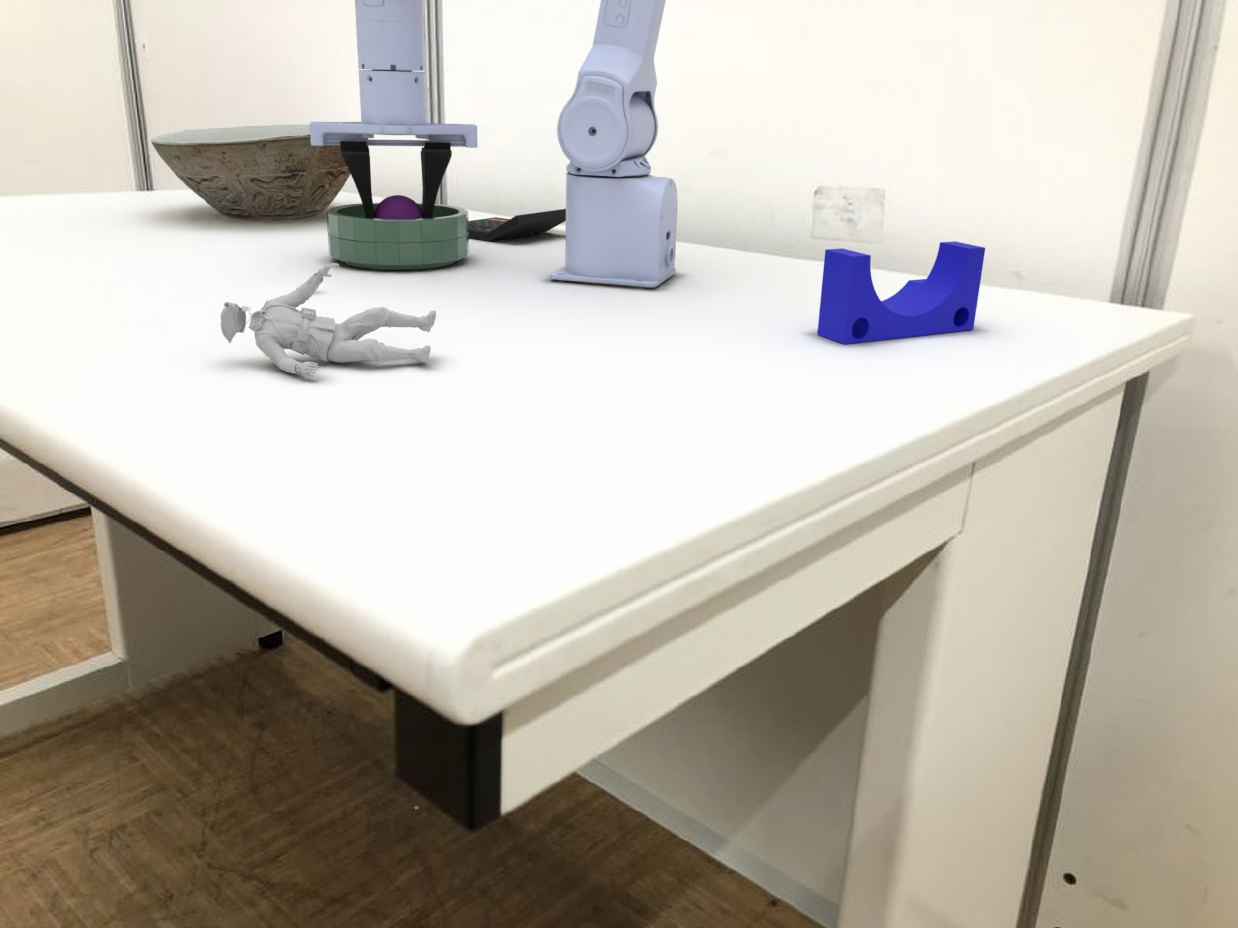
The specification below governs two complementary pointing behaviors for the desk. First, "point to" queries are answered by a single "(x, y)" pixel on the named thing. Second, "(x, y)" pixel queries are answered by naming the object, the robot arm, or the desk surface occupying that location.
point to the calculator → (515, 225)
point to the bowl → (256, 169)
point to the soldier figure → (320, 330)
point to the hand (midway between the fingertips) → (398, 228)
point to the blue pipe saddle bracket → (899, 297)
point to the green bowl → (397, 238)
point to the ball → (398, 208)
